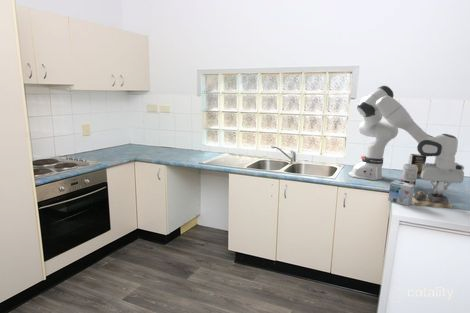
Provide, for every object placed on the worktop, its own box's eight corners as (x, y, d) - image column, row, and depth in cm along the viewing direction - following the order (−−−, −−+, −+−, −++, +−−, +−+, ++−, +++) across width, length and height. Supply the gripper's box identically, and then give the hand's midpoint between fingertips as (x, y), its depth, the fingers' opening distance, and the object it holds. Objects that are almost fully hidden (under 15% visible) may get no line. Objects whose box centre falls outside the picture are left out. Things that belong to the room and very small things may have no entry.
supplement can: (397, 186, 205) (400, 163, 201) (406, 185, 207) (410, 163, 204) (407, 190, 197) (411, 167, 194) (417, 189, 200) (421, 166, 197)
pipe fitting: (434, 198, 174) (438, 181, 171) (431, 196, 178) (434, 179, 176) (443, 199, 173) (447, 182, 171) (440, 196, 177) (443, 179, 175)
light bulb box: (387, 200, 178) (390, 182, 176) (392, 197, 183) (394, 180, 180) (408, 206, 171) (411, 187, 168) (412, 203, 175) (415, 184, 173)
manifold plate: (415, 205, 173) (417, 194, 171) (407, 197, 184) (409, 187, 183) (451, 208, 170) (453, 197, 168) (441, 200, 181) (443, 190, 180)
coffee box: (409, 177, 227) (412, 155, 224) (406, 174, 233) (409, 153, 230) (423, 178, 226) (426, 156, 222) (419, 176, 232) (423, 154, 228)
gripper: (425, 164, 170) (420, 188, 173) (467, 167, 166) (462, 192, 170) (420, 161, 176) (416, 185, 179) (461, 164, 173) (456, 188, 176)
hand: (439, 188), depth 174 cm, fingers closed on pipe fitting, 4 cm apart
